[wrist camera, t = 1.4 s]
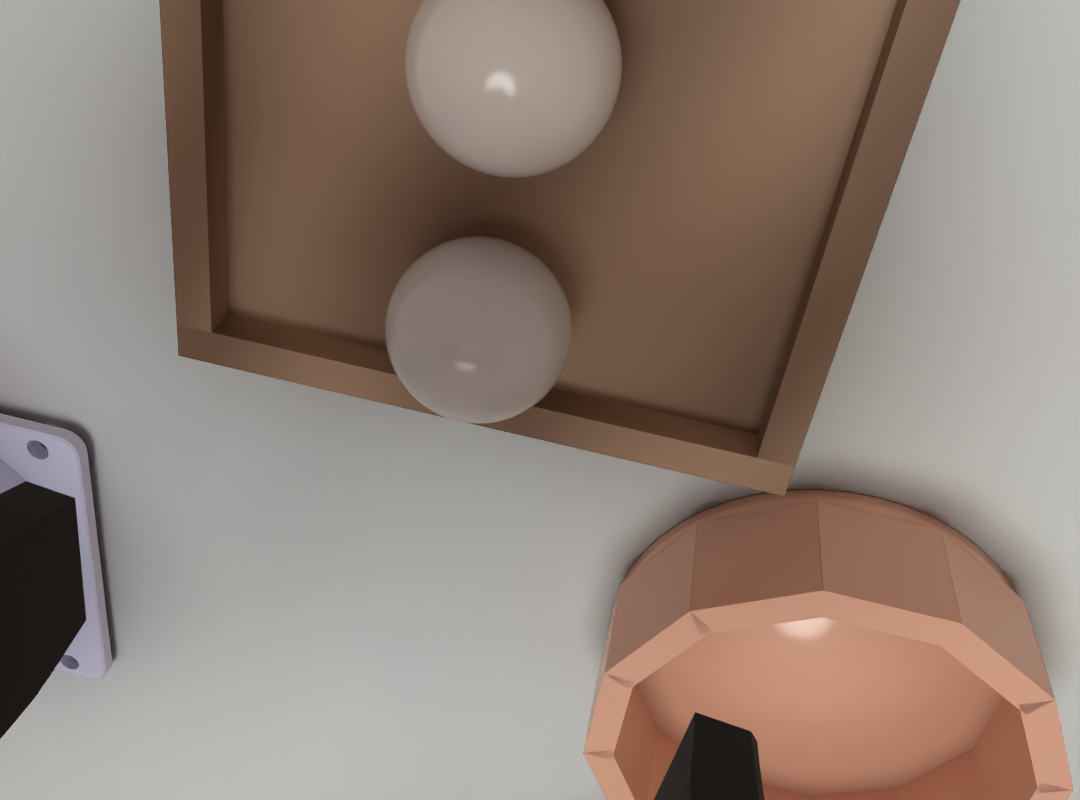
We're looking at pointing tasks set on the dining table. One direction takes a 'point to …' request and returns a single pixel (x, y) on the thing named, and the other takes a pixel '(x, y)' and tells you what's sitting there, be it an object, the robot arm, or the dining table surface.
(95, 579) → the robot arm
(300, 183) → the tray
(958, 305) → the dining table surface
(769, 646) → the bowl
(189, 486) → the dining table surface
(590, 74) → the white ball
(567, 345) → the pebble
